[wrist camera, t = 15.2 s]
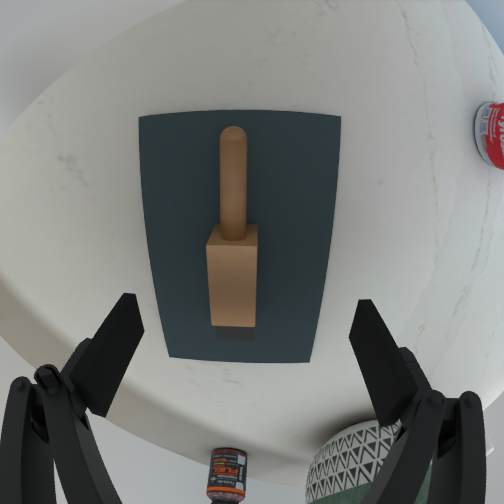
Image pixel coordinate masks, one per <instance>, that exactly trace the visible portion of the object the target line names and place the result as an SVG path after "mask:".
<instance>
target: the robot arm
mask: <svg viewBox="0 0 504 504" xmlns="http://www.w3.org/2000/svg"><path fill="white" fill-rule="evenodd" d="M144 332H145V331H144V327H143V323H142V319H141V315H140V311H139V307H138V303H137V298H136V294H131V293H123V295H122V296H121V298H120V299H119V300H118V302H117V303H116V305H115V306H114V307H113V309H112V310H111V312H110V313H109V315H108V316H107V317H106V319H105V320H104V322H103V323H102V325H101V326H100V328H99V329H98V331H97V332H96V334H95V335H94V337H93V338H92V339H90V338H86V339H85V340H83V341H82V342H81V343H79V345H78V346H77V348H76V349H75V352H73V354H72V355H71V357H70V358H69V360H68V361H67V363H66V364H65V366H64V368H63V369H62V371H61V372H60V373H59V371H58V370H57V368H56V367H55V366H54V365H51V364H45V365H43V366H40V367H39V368H38V369H37V370H36V372H35V374H34V379H35V380H36V382H37V384H32V383H31V382H30V380H29V379H28V378H27V377H23V376H22V377H18V378H16V379H15V380H14V381H13V382H12V384H11V386H10V390H9V394H8V399H7V403H6V409H5V414H4V419H3V425H2V433H1V440H0V504H57V503H56V493H55V481H54V461H55V464H56V468H57V472H58V476H59V479H60V482H61V485H62V488H63V491H64V494H65V497H66V500H67V502H68V504H122V502H121V500H120V498H119V496H118V494H117V492H116V490H115V488H114V486H113V484H112V481H111V479H110V477H109V475H108V472H107V470H106V467H105V465H104V463H103V460H102V458H101V455H100V452H99V450H98V447H97V445H96V441H95V439H94V436H93V433H92V430H91V427H90V423H89V420H88V417H87V415H86V413H85V411H86V409H87V407H88V408H89V409H90V411H91V413H92V414H95V415H98V416H102V417H106V415H107V413H108V410H109V408H110V405H111V403H112V401H113V398H114V396H115V394H116V392H117V389H118V387H119V385H120V383H121V380H122V378H123V376H124V374H125V372H126V369H127V367H128V365H129V363H130V361H131V359H132V357H133V354H134V352H135V350H136V348H137V346H138V344H139V342H140V340H141V338H142V336H143V334H144ZM349 340H350V342H351V345H352V348H353V350H354V353H355V356H356V358H357V361H358V364H359V367H360V369H361V372H362V375H363V378H364V381H365V384H366V387H367V389H368V392H369V395H370V398H371V401H372V404H373V407H374V410H375V414H376V417H377V420H378V423H379V426H380V428H382V427H387V426H392V425H395V423H396V422H397V421H398V419H399V418H400V421H401V426H400V427H399V428H398V429H397V431H396V432H395V433H394V435H393V436H395V435H396V436H395V439H394V441H393V443H392V445H391V447H390V450H389V452H388V454H387V456H386V458H385V460H384V462H383V464H382V466H381V468H380V470H379V472H378V474H377V476H376V477H375V479H374V481H373V483H372V485H371V486H370V488H369V490H368V492H367V493H366V495H365V497H364V498H363V500H362V501H361V503H360V504H414V502H415V500H416V498H417V496H418V493H419V491H420V489H421V486H422V484H423V481H424V479H425V476H426V474H427V471H428V468H429V465H430V462H431V460H432V467H431V476H430V484H429V491H428V497H427V502H426V504H485V493H486V442H485V429H484V419H483V411H482V404H481V400H480V398H479V396H478V395H477V394H476V393H474V392H471V391H465V392H464V393H462V395H461V396H460V397H459V398H445V396H444V395H443V394H442V393H441V392H439V391H437V390H433V389H432V388H431V386H430V384H429V382H428V380H427V378H426V376H425V374H424V373H423V371H422V369H421V368H420V365H419V363H418V362H417V360H416V358H415V356H414V354H413V353H412V352H411V351H410V350H409V349H408V348H406V347H401V348H398V346H397V345H396V343H395V341H394V339H393V337H392V335H391V334H390V332H389V330H388V328H387V326H386V325H385V323H384V321H383V319H382V318H381V316H380V314H379V312H378V311H377V309H376V307H375V305H374V304H373V302H372V300H371V299H364V300H358V304H357V308H356V312H355V316H354V320H353V323H352V327H351V330H350V334H349Z"/></svg>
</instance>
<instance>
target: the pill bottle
mask: <svg viewBox="0 0 504 504" xmlns="http://www.w3.org/2000/svg"><path fill="white" fill-rule="evenodd" d="M475 138H476V143H477V147H478V149H479V152H480V154H481V156H482V157H483V158H484V160H485V161H486V162H487V163H488V164H490V165H491V166H494V167H496V168H499V169H502V170H504V103H486V104H484V105H482V106H481V107H480V109H479V110H478V112H477V115H476V119H475Z"/></svg>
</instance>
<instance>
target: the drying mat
mask: <svg viewBox="0 0 504 504" xmlns="http://www.w3.org/2000/svg"><path fill="white" fill-rule="evenodd" d="M230 126H237V127H240V128H242V129H243V130H244V131H245V132H246V134H247V216H246V224H257V225H258V234H257V281H256V316H255V327H254V334H253V342H238V341H217V340H215V329H214V325H212V323H211V311H210V299H209V285H208V270H207V254H206V245H207V242H208V240H209V238H210V235H211V233H212V231H213V229H214V226H215V224H220V135H221V133H222V131H223V130H224V129H226V128H227V127H230ZM340 131H341V117H340V116H333V115H324V114H315V113H303V112H289V111H269V110H215V111H194V112H181V113H169V114H160V115H151V116H144V117H139V153H140V172H141V186H142V198H143V209H144V219H145V227H146V236H147V243H148V250H149V257H150V264H151V270H152V276H153V282H154V288H155V293H156V299H157V304H158V309H159V314H160V319H161V323H162V328H163V332H164V337H165V341H166V345H167V349H168V354H169V357H174V358H183V359H194V360H207V361H222V362H244V363H308V362H310V357H311V353H312V348H313V343H314V338H315V334H316V329H317V323H318V318H319V313H320V307H321V302H322V296H323V290H324V284H325V278H326V272H327V265H328V258H329V251H330V244H331V236H332V228H333V219H334V210H335V200H336V190H337V178H338V165H339V150H340Z"/></svg>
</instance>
